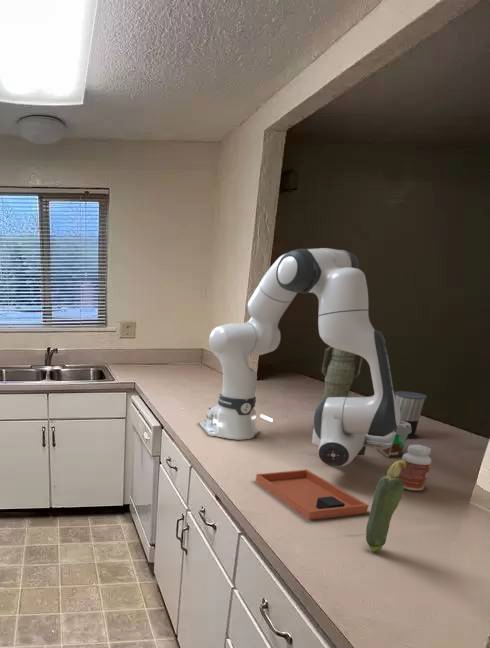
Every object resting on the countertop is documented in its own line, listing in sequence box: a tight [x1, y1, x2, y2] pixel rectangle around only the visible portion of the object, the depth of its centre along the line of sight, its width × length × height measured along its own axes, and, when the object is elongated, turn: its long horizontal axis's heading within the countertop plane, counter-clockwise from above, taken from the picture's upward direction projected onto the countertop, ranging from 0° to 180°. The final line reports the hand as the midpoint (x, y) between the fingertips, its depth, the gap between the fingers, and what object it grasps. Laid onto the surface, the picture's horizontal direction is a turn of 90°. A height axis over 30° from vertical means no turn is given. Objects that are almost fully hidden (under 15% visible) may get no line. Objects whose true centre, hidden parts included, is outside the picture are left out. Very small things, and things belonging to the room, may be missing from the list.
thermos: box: [321, 345, 364, 402], centre depth 156 cm, size 9×12×35 cm
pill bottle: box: [397, 444, 432, 491], centre depth 113 cm, size 6×6×11 cm
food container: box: [378, 420, 412, 458], centre depth 137 cm, size 12×6×10 cm, turn 168°
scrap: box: [316, 496, 345, 509], centre depth 102 cm, size 4×4×2 cm
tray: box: [255, 469, 370, 521], centre depth 109 cm, size 21×15×2 cm
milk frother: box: [395, 390, 428, 439], centre depth 152 cm, size 14×16×15 cm
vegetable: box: [365, 459, 407, 553], centre depth 85 cm, size 4×4×20 cm
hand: (356, 428), depth 132 cm, fingers closed on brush, 3 cm apart
